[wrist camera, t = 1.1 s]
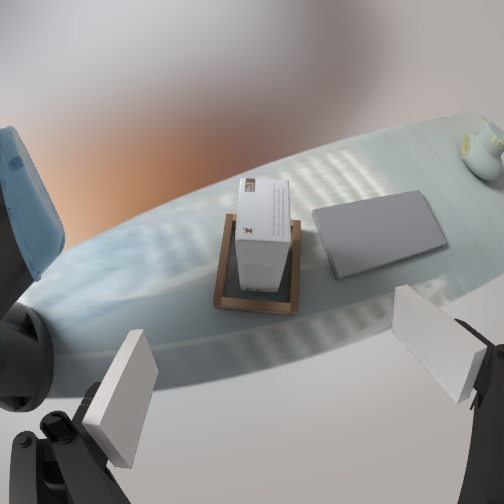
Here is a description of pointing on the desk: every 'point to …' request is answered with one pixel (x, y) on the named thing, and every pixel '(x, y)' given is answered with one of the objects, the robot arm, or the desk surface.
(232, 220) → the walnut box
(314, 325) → the desk surface
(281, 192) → the skincare box
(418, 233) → the slate board
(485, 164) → the air freshener
